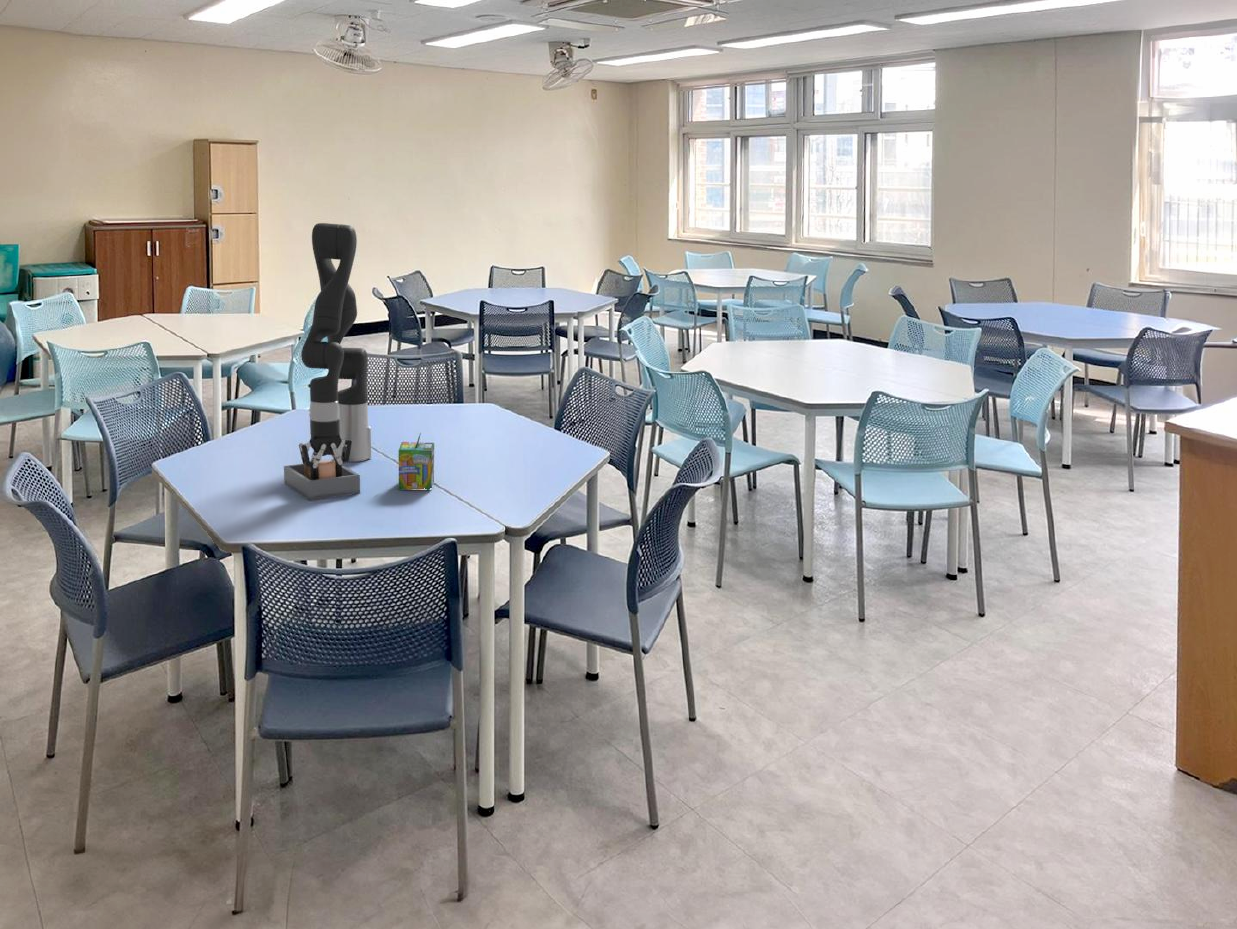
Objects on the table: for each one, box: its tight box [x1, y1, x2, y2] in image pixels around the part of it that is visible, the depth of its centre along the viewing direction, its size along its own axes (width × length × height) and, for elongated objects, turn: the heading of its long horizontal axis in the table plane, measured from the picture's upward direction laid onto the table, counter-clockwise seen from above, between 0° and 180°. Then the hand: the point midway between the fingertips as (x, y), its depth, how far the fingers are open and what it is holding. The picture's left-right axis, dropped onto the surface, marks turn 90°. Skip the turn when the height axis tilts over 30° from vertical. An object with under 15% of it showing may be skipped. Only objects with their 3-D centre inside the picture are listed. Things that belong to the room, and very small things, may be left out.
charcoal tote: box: [283, 459, 361, 501], centre depth 286 cm, size 14×18×5 cm
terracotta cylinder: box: [317, 459, 336, 480], centre depth 283 cm, size 5×5×7 cm
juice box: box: [398, 432, 435, 491], centre depth 291 cm, size 9×9×15 cm
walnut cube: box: [304, 465, 313, 480], centre depth 289 cm, size 5×5×5 cm
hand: (326, 479), depth 283 cm, fingers open, 5 cm apart
